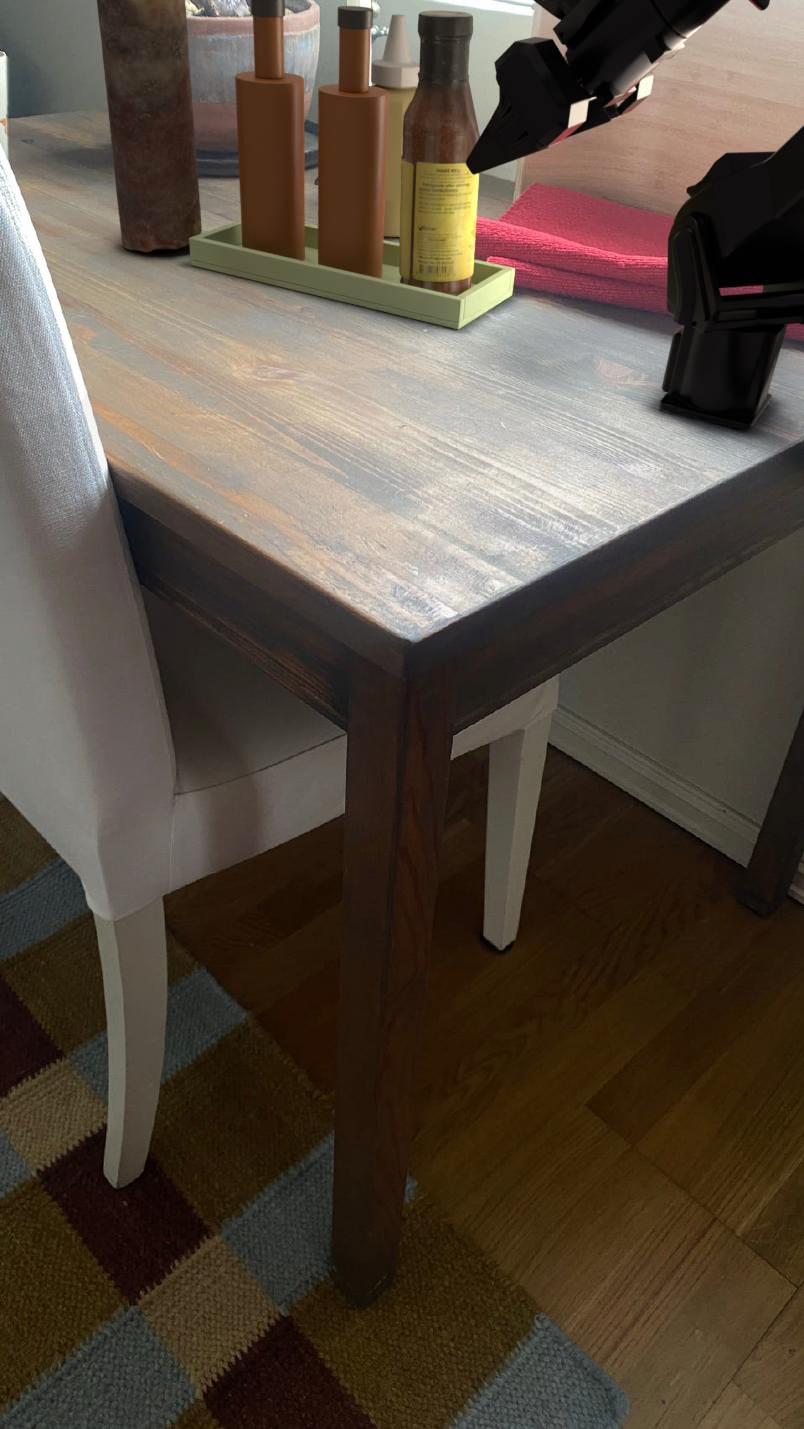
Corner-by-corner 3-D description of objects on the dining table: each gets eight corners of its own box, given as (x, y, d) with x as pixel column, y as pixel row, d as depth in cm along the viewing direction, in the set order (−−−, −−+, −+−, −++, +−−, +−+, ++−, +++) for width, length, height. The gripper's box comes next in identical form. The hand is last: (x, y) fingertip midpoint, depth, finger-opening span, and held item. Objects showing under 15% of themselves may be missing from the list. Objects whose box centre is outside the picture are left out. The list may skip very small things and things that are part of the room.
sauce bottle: (485, 297, 88) (514, 17, 76) (435, 312, 85) (456, 20, 72) (430, 277, 92) (448, 6, 79) (379, 290, 88) (389, 8, 75)
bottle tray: (512, 295, 90) (544, 23, 78) (458, 329, 83) (484, 35, 70) (259, 238, 100) (251, -14, 87) (190, 265, 92) (170, -7, 80)
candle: (140, 230, 100) (114, -25, 87) (214, 238, 99) (199, -18, 86) (109, 252, 94) (77, -18, 81) (187, 260, 93) (167, -10, 80)
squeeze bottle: (357, 216, 108) (363, 7, 96) (434, 224, 107) (449, 14, 95) (341, 237, 101) (344, 16, 90) (422, 245, 101) (436, 24, 89)
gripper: (643, -114, 74) (486, 50, 84) (543, -119, 61) (372, 76, 71) (725, 30, 76) (561, 172, 87) (646, 55, 63) (465, 219, 74)
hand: (495, 158), depth 80 cm, fingers open, 9 cm apart
